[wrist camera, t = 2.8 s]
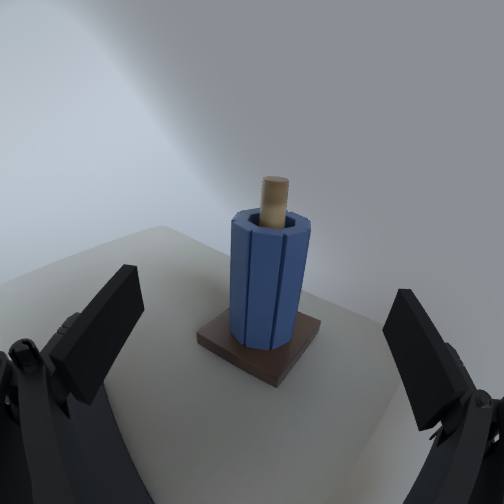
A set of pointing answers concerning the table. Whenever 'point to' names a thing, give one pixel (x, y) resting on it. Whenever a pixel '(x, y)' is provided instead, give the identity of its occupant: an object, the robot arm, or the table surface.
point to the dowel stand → (218, 330)
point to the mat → (106, 452)
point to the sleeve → (266, 278)
